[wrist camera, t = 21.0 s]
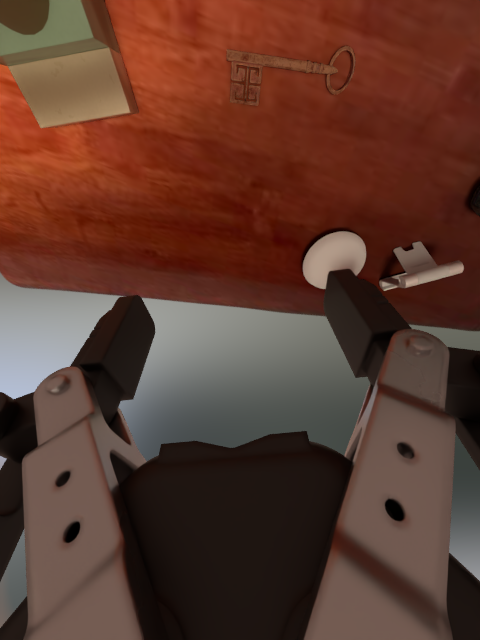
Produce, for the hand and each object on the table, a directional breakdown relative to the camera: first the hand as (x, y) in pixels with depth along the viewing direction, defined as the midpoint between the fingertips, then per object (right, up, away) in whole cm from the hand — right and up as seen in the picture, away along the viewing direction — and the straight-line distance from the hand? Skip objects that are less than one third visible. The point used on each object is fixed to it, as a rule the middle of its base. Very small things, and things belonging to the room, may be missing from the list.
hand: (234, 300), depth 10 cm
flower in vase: (+18, +11, +34) cm, 40 cm away
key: (+6, +29, +18) cm, 34 cm away
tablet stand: (+32, +10, +35) cm, 49 cm away
